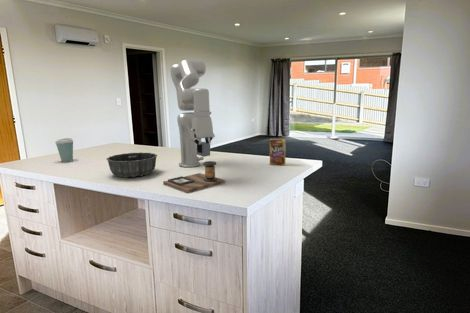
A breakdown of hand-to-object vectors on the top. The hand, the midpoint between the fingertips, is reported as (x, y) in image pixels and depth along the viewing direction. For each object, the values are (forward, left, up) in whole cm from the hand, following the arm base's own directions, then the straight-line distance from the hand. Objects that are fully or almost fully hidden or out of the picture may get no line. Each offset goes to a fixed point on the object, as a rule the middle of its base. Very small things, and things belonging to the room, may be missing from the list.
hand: (203, 151), depth 160 cm
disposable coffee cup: (+34, -106, -15) cm, 112 cm away
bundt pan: (+19, -39, -15) cm, 46 cm away
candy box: (-50, +6, -15) cm, 52 cm away
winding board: (+8, +2, -14) cm, 17 cm away
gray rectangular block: (0, 0, -2) cm, 2 cm away
